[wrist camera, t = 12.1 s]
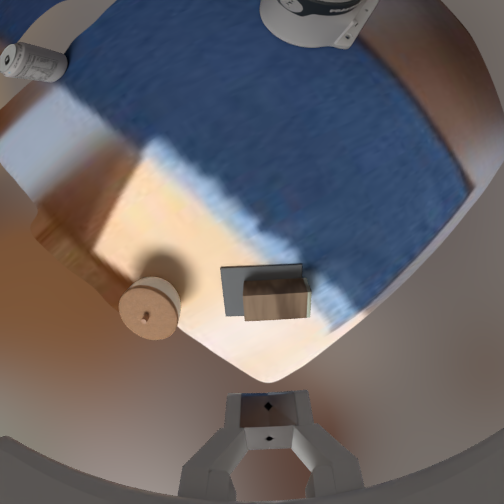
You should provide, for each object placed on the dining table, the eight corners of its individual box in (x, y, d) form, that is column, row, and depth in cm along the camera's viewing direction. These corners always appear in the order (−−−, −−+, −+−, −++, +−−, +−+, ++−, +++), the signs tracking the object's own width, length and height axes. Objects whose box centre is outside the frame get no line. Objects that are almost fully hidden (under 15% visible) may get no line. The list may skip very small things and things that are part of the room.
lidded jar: (129, 266, 49) (108, 291, 40) (183, 267, 48) (170, 294, 40) (139, 314, 53) (123, 343, 44) (189, 317, 53) (179, 348, 44)
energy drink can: (66, 48, 32) (16, 33, 18) (72, 69, 34) (20, 57, 20) (45, 67, 33) (-6, 59, 19) (51, 88, 35) (-3, 83, 21)
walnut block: (311, 292, 44) (242, 295, 44) (310, 317, 46) (244, 321, 46) (306, 277, 49) (243, 281, 49) (305, 301, 50) (245, 305, 51)
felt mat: (301, 264, 48) (302, 265, 48) (299, 311, 52) (300, 313, 51) (220, 267, 48) (220, 268, 48) (225, 315, 52) (225, 316, 52)
